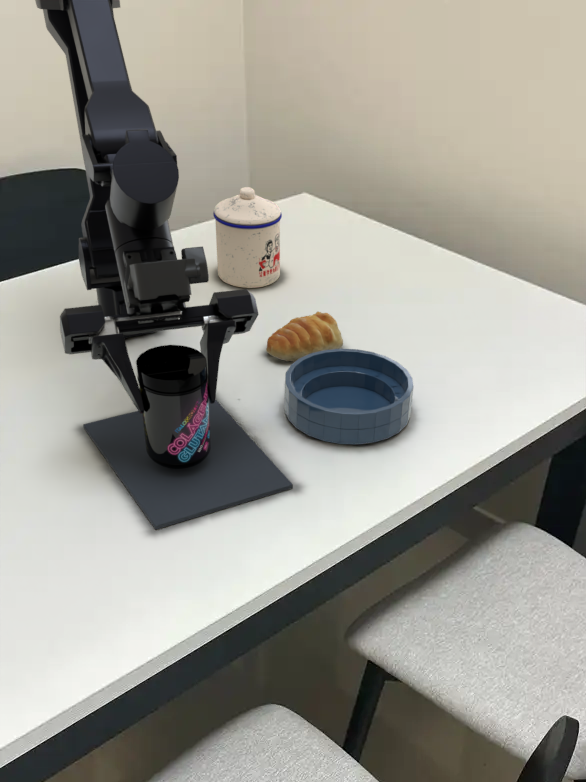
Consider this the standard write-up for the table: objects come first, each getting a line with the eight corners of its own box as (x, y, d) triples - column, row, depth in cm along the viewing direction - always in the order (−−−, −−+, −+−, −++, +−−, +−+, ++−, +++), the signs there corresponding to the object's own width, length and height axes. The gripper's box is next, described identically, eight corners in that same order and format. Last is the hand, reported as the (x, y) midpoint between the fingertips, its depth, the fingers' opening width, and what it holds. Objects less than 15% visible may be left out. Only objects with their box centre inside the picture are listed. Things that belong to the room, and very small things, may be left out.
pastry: (286, 371, 115) (286, 342, 112) (254, 349, 119) (253, 320, 116) (347, 350, 120) (348, 322, 117) (314, 329, 123) (315, 301, 121)
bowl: (263, 397, 111) (262, 364, 108) (367, 370, 116) (370, 338, 113) (324, 460, 102) (325, 426, 99) (433, 428, 108) (438, 395, 105)
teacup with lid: (271, 293, 130) (271, 206, 122) (207, 284, 131) (202, 196, 123) (294, 258, 139) (295, 174, 131) (233, 250, 140) (230, 166, 132)
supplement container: (156, 477, 96) (146, 385, 89) (138, 441, 100) (127, 350, 93) (220, 464, 98) (216, 373, 91) (200, 429, 103) (194, 340, 95)
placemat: (83, 428, 104) (82, 424, 104) (209, 396, 110) (209, 392, 110) (155, 529, 92) (155, 525, 92) (292, 488, 98) (292, 484, 98)
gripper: (44, 223, 83) (82, 400, 84) (251, 206, 89) (286, 372, 89) (47, 272, 94) (80, 428, 95) (232, 254, 99) (263, 402, 100)
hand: (177, 407), depth 94 cm, fingers closed on supplement container, 7 cm apart
